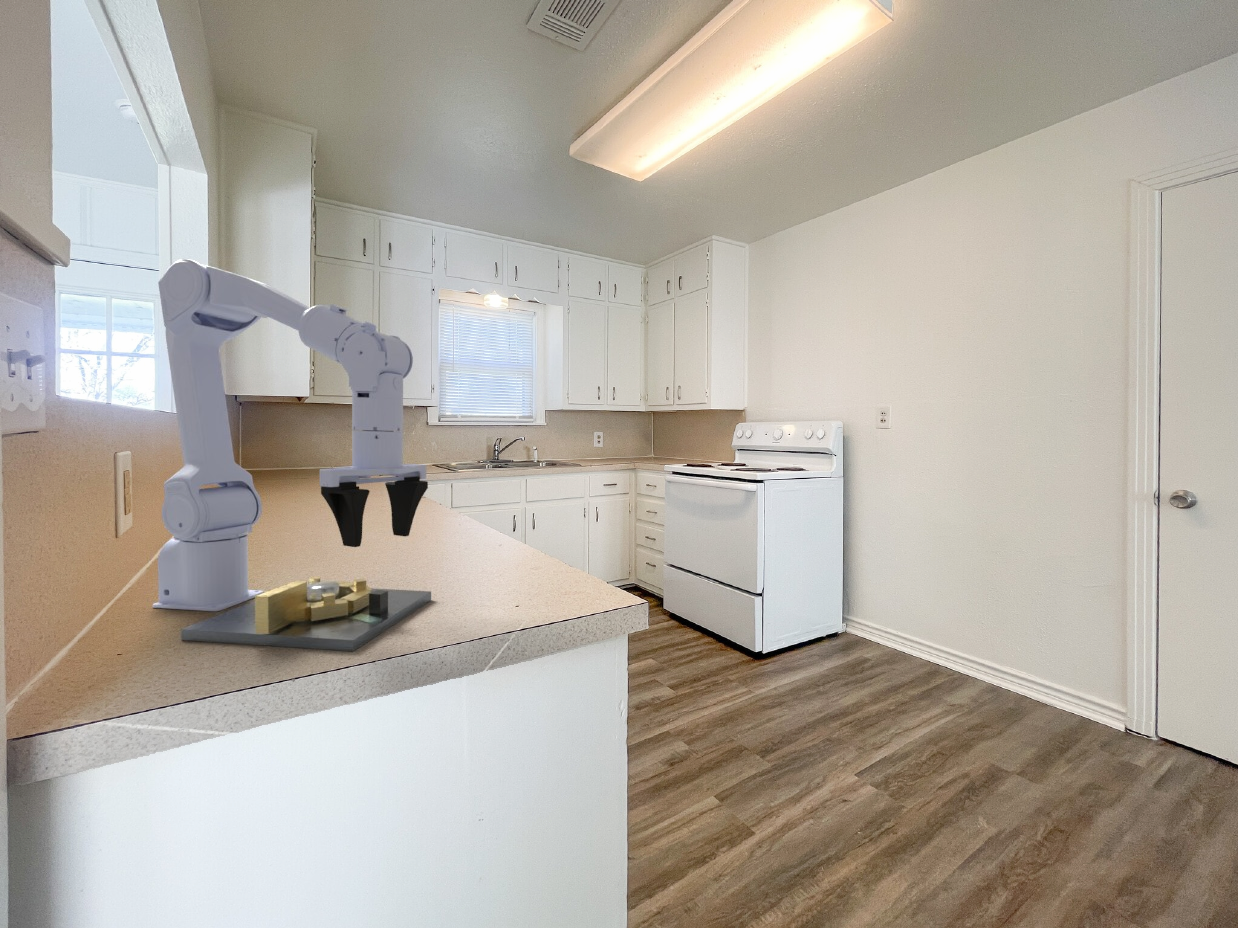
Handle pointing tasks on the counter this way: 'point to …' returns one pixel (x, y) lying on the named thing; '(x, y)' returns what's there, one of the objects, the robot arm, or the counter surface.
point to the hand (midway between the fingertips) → (377, 540)
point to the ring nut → (306, 604)
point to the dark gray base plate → (313, 622)
